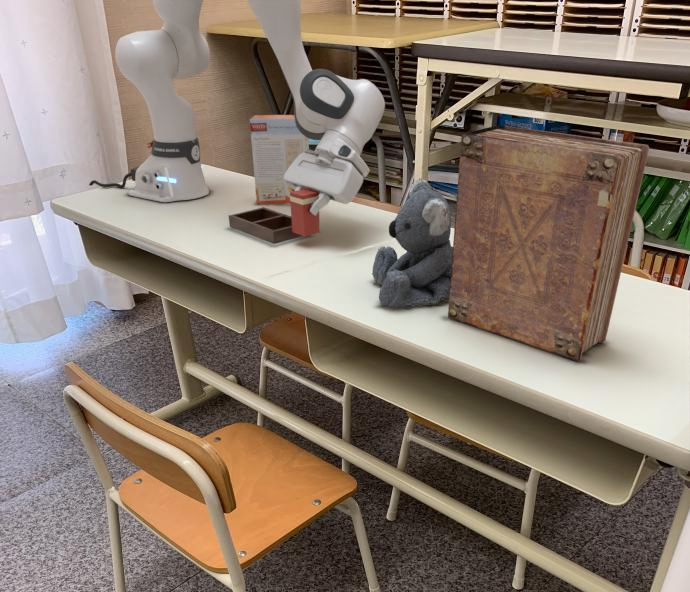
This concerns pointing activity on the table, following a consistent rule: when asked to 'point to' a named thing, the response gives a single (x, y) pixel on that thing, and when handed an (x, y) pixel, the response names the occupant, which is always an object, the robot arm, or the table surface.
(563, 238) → the book
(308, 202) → the carton
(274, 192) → the cracker box
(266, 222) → the organiser
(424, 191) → the koala plush
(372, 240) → the table surface
